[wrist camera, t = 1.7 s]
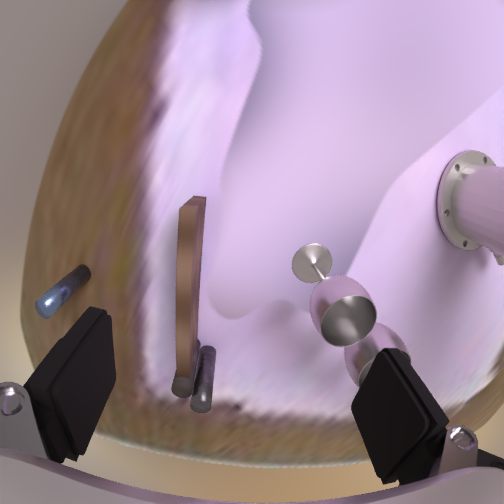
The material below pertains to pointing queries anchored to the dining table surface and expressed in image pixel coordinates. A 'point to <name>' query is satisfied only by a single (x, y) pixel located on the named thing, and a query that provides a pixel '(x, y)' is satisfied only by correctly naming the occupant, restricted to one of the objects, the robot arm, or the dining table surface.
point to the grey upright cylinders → (206, 354)
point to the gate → (188, 294)
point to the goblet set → (344, 312)
